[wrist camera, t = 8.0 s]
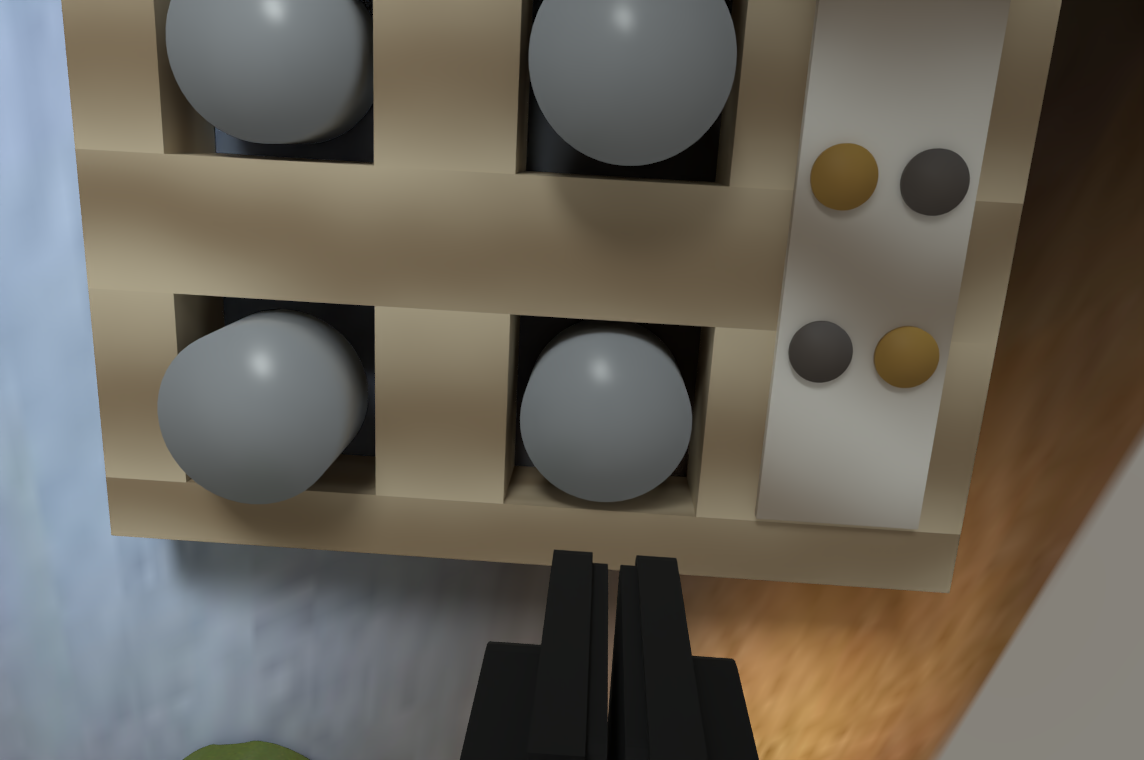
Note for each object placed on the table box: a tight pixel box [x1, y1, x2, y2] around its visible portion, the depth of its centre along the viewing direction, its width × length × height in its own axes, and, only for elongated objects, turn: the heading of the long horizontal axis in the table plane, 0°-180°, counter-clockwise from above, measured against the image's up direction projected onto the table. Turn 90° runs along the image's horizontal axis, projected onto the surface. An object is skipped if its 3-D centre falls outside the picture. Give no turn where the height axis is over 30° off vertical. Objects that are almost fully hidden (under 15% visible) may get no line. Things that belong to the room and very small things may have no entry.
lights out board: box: [61, 0, 1062, 593], centre depth 23 cm, size 18×24×4 cm
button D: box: [520, 319, 692, 502], centre depth 24 cm, size 5×5×3 cm
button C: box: [157, 309, 369, 504], centre depth 23 cm, size 5×5×3 cm
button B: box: [529, 0, 737, 166], centre depth 20 cm, size 5×5×3 cm
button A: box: [166, 0, 374, 144], centre depth 22 cm, size 5×5×3 cm
